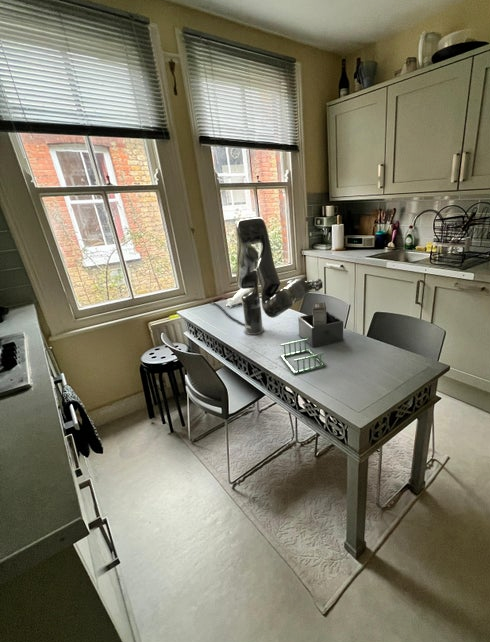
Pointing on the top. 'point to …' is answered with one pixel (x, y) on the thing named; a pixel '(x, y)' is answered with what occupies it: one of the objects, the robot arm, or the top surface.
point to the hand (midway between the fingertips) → (310, 280)
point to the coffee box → (319, 314)
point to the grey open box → (321, 330)
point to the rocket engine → (237, 297)
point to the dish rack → (302, 358)
